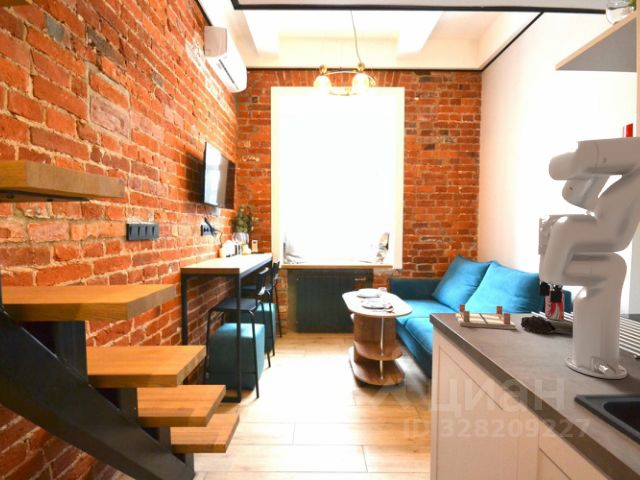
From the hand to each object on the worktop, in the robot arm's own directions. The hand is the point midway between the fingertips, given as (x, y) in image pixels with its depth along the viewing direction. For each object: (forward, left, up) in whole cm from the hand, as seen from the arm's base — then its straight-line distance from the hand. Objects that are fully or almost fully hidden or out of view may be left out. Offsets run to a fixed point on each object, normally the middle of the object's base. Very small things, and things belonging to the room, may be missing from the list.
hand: (549, 298), depth 116 cm
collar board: (+9, +20, -12) cm, 25 cm away
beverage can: (+20, -9, -13) cm, 25 cm away
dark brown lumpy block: (+1, 0, -13) cm, 13 cm away
